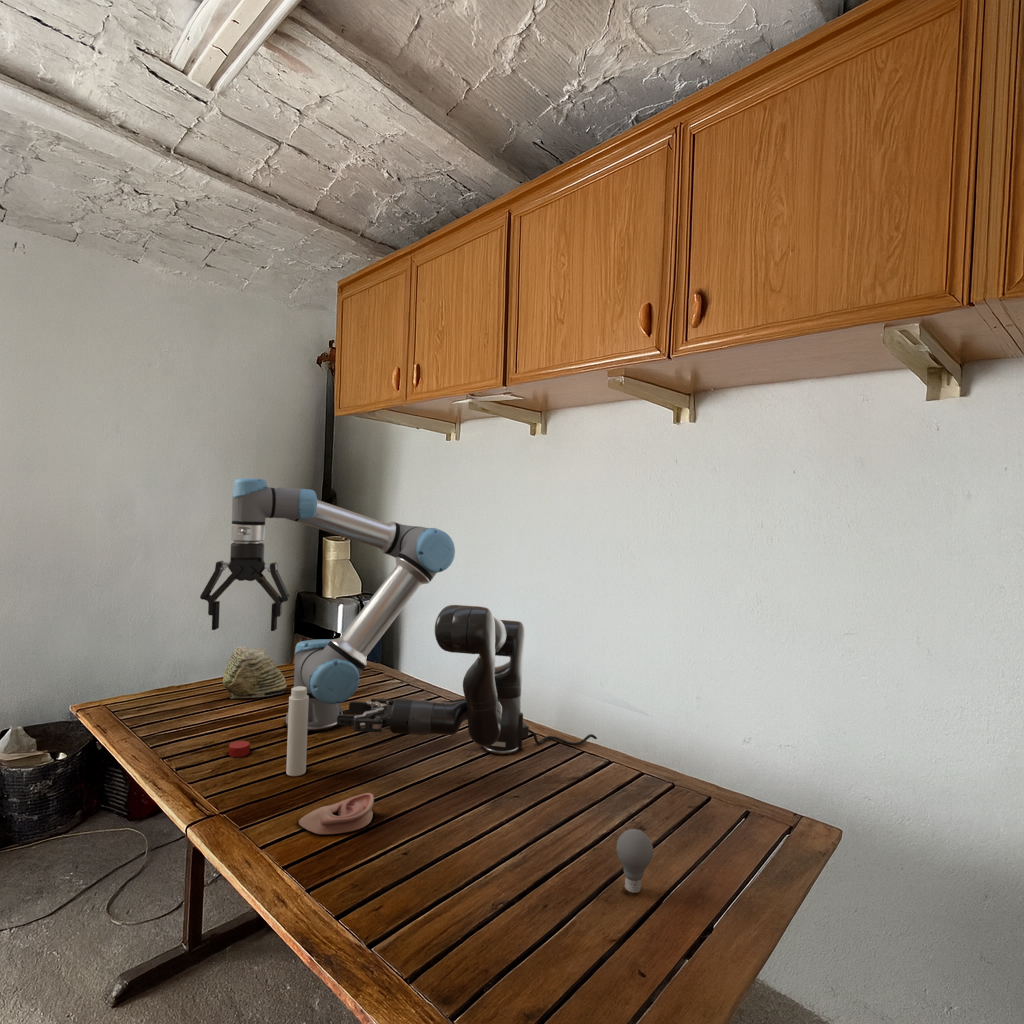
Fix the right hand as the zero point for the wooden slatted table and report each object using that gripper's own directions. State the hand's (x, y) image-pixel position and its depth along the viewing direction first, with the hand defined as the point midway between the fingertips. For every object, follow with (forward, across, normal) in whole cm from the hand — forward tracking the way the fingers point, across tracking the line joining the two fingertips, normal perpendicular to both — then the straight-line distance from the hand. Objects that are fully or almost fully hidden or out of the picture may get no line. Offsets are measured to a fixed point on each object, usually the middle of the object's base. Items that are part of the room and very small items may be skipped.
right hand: (343, 712), depth 145 cm
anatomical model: (-6, +21, +14) cm, 26 cm away
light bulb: (-61, +37, +13) cm, 72 cm away
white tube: (+10, +1, +14) cm, 18 cm away
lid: (+28, -8, +12) cm, 31 cm away
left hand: (+28, -8, -16) cm, 33 cm away
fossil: (+44, -51, +15) cm, 69 cm away
